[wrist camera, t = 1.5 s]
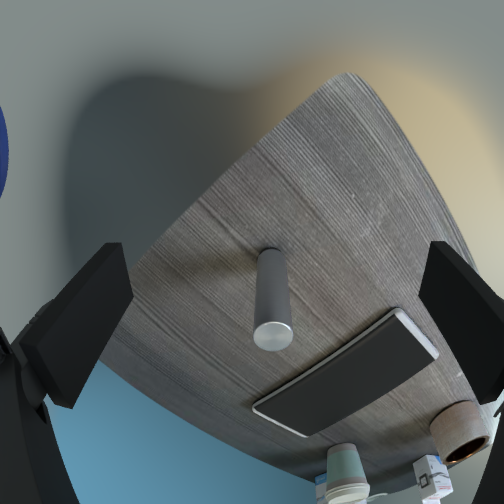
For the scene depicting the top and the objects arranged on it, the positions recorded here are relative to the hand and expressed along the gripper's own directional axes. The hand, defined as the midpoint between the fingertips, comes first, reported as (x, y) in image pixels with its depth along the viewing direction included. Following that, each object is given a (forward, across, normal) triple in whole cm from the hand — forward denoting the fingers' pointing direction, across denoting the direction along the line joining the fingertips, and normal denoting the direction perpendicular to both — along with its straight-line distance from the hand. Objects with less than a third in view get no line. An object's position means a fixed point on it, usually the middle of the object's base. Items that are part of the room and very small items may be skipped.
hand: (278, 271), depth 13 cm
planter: (+20, +38, -47) cm, 63 cm away
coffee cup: (+20, +14, -53) cm, 59 cm away
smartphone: (+20, +11, -30) cm, 38 cm away
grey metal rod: (+20, 0, -10) cm, 22 cm away
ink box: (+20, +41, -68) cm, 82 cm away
